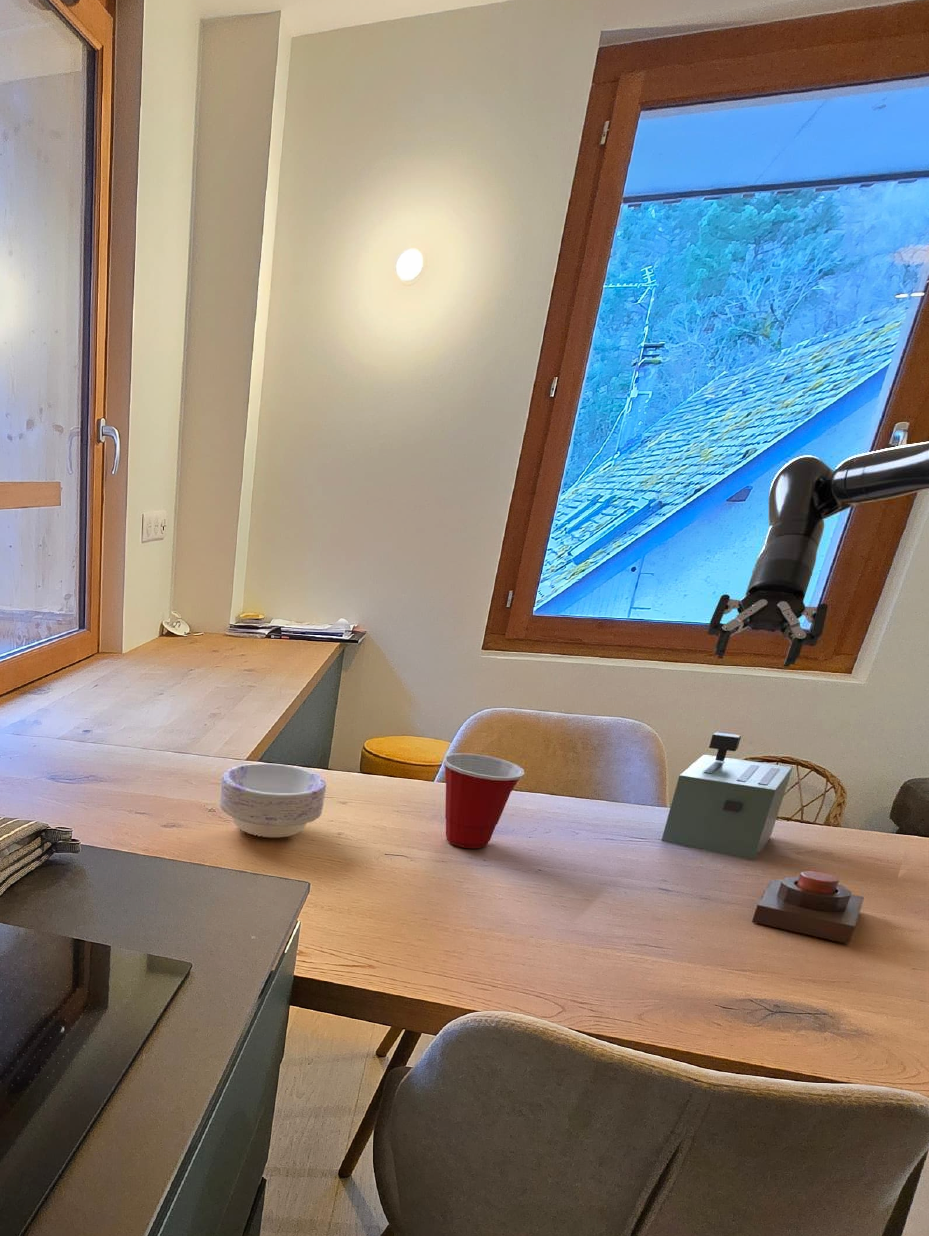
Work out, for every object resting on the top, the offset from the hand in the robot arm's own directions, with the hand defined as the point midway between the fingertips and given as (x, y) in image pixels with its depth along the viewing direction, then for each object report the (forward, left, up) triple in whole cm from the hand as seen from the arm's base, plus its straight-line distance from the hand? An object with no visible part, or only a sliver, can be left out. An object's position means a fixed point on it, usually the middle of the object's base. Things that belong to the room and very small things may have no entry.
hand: (753, 660), depth 142 cm
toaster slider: (+13, +9, -13) cm, 20 cm away
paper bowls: (+74, -12, -24) cm, 79 cm away
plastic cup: (+49, +2, -24) cm, 55 cm away
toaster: (+15, +13, -24) cm, 31 cm away
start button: (+30, +37, -20) cm, 52 cm away
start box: (+30, +37, -24) cm, 53 cm away
